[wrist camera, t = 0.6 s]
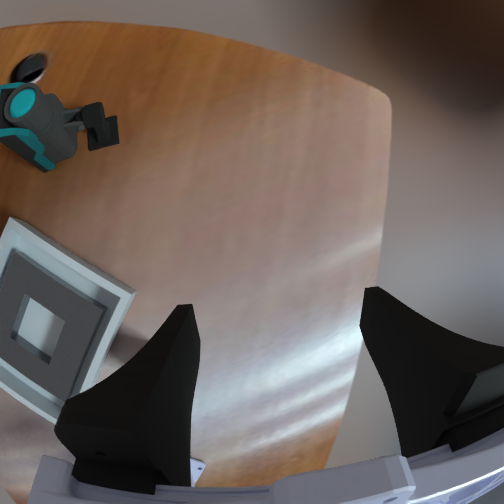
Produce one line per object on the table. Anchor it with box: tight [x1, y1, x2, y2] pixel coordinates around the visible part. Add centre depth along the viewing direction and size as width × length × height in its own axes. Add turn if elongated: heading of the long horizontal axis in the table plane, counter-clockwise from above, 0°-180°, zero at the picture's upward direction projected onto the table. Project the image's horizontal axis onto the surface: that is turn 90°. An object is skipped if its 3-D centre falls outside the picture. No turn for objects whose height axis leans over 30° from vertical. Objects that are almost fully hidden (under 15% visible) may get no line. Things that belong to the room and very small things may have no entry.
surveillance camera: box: [0, 82, 119, 172], centre depth 25 cm, size 6×12×10 cm
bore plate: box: [0, 252, 108, 402], centre depth 27 cm, size 12×12×2 cm
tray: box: [0, 217, 137, 424], centre depth 27 cm, size 18×16×4 cm
